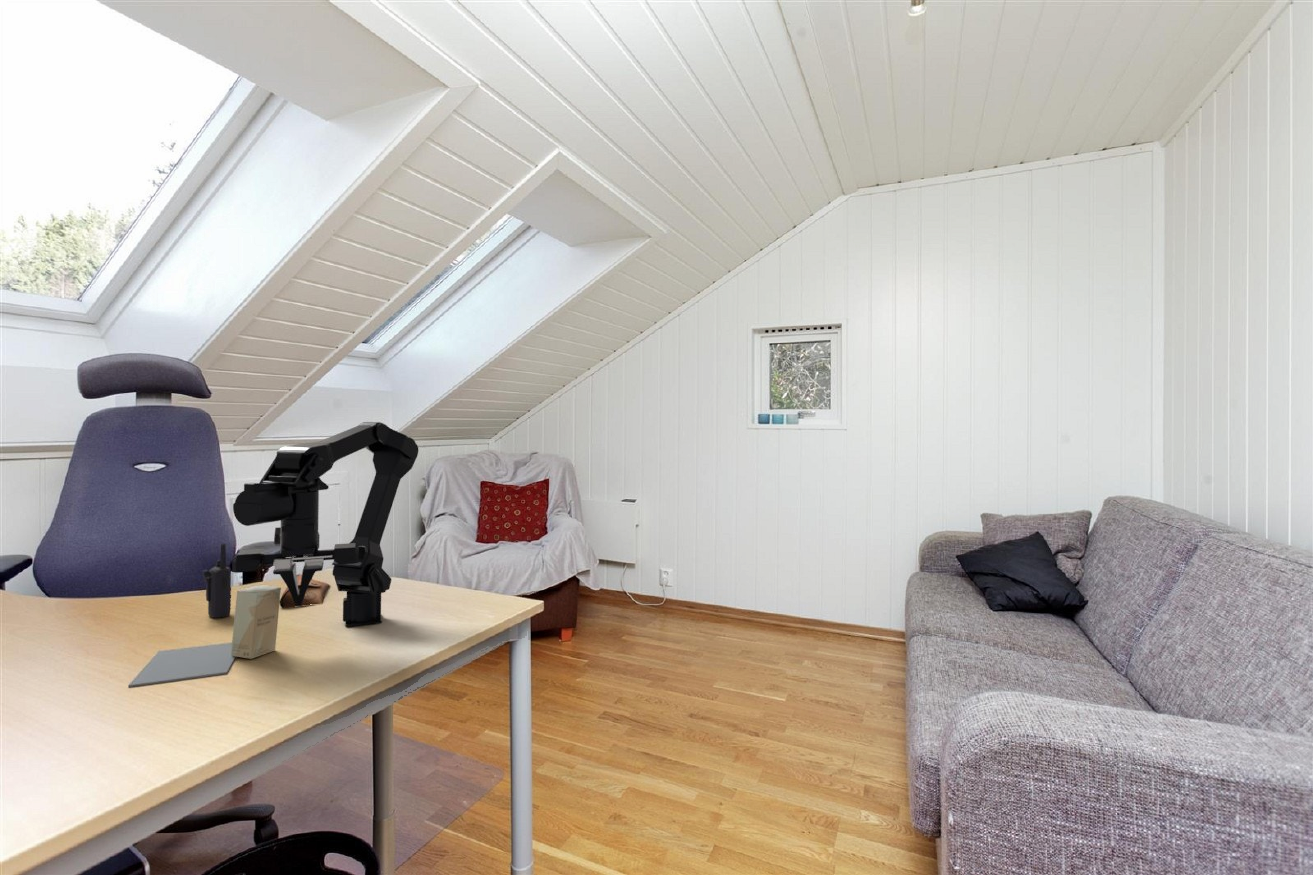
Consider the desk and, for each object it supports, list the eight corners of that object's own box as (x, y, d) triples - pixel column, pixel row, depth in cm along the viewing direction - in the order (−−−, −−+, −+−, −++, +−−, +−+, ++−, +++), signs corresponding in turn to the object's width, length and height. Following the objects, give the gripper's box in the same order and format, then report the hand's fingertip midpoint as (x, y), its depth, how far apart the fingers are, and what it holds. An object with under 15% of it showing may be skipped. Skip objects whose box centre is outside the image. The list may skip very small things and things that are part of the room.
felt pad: (243, 642, 107) (243, 641, 107) (226, 673, 93) (226, 671, 93) (158, 652, 101) (158, 651, 101) (128, 687, 88) (128, 685, 88)
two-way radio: (232, 616, 121) (233, 543, 121) (206, 621, 117) (207, 546, 117) (225, 611, 124) (226, 540, 124) (198, 615, 121) (199, 542, 121)
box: (251, 659, 98) (256, 593, 99) (229, 656, 99) (234, 590, 99) (277, 649, 104) (282, 586, 104) (256, 646, 104) (261, 583, 105)
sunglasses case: (324, 604, 130) (307, 579, 129) (292, 623, 128) (274, 598, 126) (330, 584, 147) (315, 562, 145) (302, 601, 144) (286, 579, 143)
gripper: (358, 509, 116) (357, 588, 116) (243, 513, 107) (242, 599, 107) (359, 517, 106) (358, 604, 106) (232, 522, 97) (231, 617, 97)
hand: (298, 605), depth 104 cm, fingers closed
